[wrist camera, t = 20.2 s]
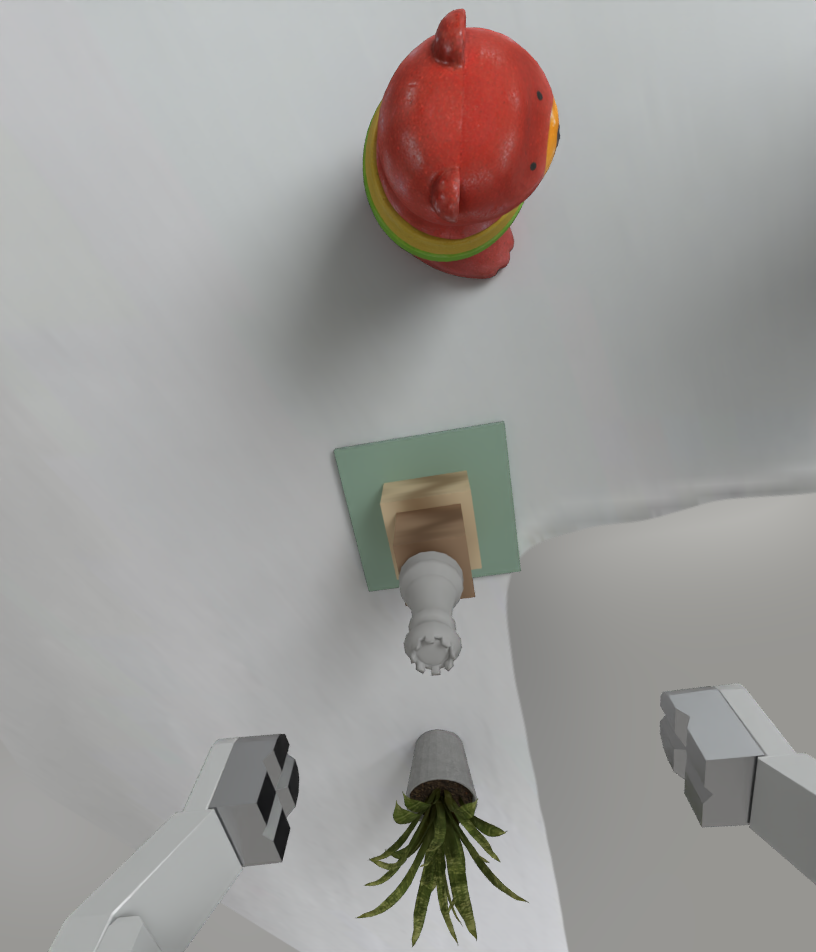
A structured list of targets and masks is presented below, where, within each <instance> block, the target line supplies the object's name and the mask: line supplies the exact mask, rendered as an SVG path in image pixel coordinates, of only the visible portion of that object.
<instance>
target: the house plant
mask: <svg viewBox="0 0 816 952" xmlns="http://www.w3.org/2000/svg"><path fill="white" fill-rule="evenodd" d="M402 793H403V792H402ZM403 796H404V803H405V806H406V807H407V810H408V811H407V810H405V809H402V808H401V807H400V806H399V805H398V804H397V800H396V806H395V810H394V813H393V818H394V821H395V822H396V823H398V824H407V823H411V824H410V825H409V827H408V828H407V830H406V831H405V832H404V833H403V835H402V836H401V837H400V838H399V839H398V840H397V841H396V842H395V843H394V844H393V845H392V846H391V847H390V848H389V849H388V850H387V851H386V850H385V852H384V853H383V854H382V855H380V856H377V857H374V858H372V859H370V858H369V859H370V860H371V861H372V862H374V863H375V864H376V865H378V866H379V867H381V868H384V869H387V870H389V871H388V872H387V873H386V874H385V875H384V876H382V877H381V878H380V879H379V880H377V881H375V882H371V883H368V884H366V885H365V886H375V885H379V884H382V883H384V882H385V881H387V880H388V879H390V878H391V877H392V876H393V875H394V874H395V873H396V872H397V871H398V869H399V868H400V867H401V865H403V864H404V862H405V861H406V860H407V859H408V857H410V856H411V855H412V854H413V853H414V852H415V851H416V850H417V849H418V848H419V847H420V846H421V847H420V849H419V851H418V853H417V856H416V858H415V860H414V862H413V864H412V866H411V868H410V869H409V871H408V873H407V874H406V876H405V877H404V879H403V880H402V882H401V883H400V884H399V886H398V887H397V888H396V890H395V891H394V892H393V893H392V894H391V895H390V896H389V897H388V898H387V899H386V900H385V901H384V902H383V903H382V904H380V905H379V906H378V907H377V908H376V909H374V910H372V911H370V912H367V913H364V914H362V915H361V916H359V917H357V918H365V917H372V916H375V915H378V914H381V913H383V912H385V911H386V910H388V909H389V908H391V907H392V906H393V905H394V904H395V903H396V902H397V901H398V900H399V899H400V898H401V897H402V896H403V895H404V894H405V892H406V891H407V889H408V888H409V886H410V885H411V883H412V881H413V878H414V876H415V874H416V872H417V870H418V868H419V866H420V864H421V862H422V859H423V857H424V855H425V860H424V864H423V865H421V866H420V867H422V866H424V868H423V872H422V876H421V881H420V885H419V890H418V894H417V899H416V904H415V909H414V931H413V935H412V947H413V946H414V945H415V943H416V941H417V939H418V938H419V936H420V933H421V930H422V928H423V924H424V920H425V916H426V911H427V906H428V903H429V899H430V895H431V892H432V891H433V890H434V888H435V887H436V885H437V893H438V900H439V905H440V910H441V913H442V915H443V918H444V920H445V922H446V925H447V927H448V929H449V931H450V933H451V935H452V936H453V938H454V939H455V941H456V942H457V938H456V935H455V932H454V928H453V925H452V922H451V919H450V916H449V912H450V910H451V908H452V911H453V913H454V915H455V917H456V919H457V920H458V921H459V919H458V917H457V915H456V913H455V910H454V908H453V906H454V904H455V906H456V908H457V910H458V912H459V913H460V915H461V916H462V918H463V919H464V921H465V924H466V926H467V928H468V930H469V932H470V933H471V934H472V935H473V936H474V937H475V938H476V941H477V933H476V926H475V921H474V917H473V911H472V906H471V902H470V897H469V892H468V886H467V879H466V873H465V871H466V868H465V856H464V852H463V847H462V844H461V841H462V842H463V844H464V845H465V847H466V848H467V850H468V851H469V853H470V855H471V857H472V858H473V860H474V861H475V863H476V864H477V866H478V867H479V869H480V870H481V871H482V873H483V874H484V875H485V876H486V877H487V879H488V880H489V881H490V882H491V883H492V884H493V885H494V886H495V887H497V888H498V889H499V890H501V891H503V892H504V893H506V894H507V895H509V896H510V897H512V898H514V899H516V900H519V901H525V902H527V901H526V900H524V899H523V898H521V897H519V896H517V895H516V894H515V893H513V892H512V891H511V890H510V889H508V888H507V887H506V886H505V885H504V884H503V883H502V882H501V881H500V880H499V879H498V878H497V877H496V876H495V875H494V874H493V873H492V871H491V870H490V869H489V868H488V867H487V865H486V864H485V863H484V862H486V863H490V862H488V861H487V860H486V859H484V858H482V857H481V856H479V854H478V853H477V851H476V850H475V848H474V847H473V846H472V844H471V843H470V842H469V840H468V839H467V837H466V836H465V834H464V833H463V831H462V830H461V828H460V827H459V823H461V824H462V825H463V826H464V827H465V829H466V830H467V831H468V832H469V833H470V835H471V836H472V837H473V838H474V839H475V840H476V841H477V842H478V843H479V844H480V845H481V846H482V848H483V849H484V850H485V851H486V852H487V853H488V854H489V855H490V856H491V857H492V858H494V859H495V860H497V861H499V862H500V860H499V858H498V857H497V855H496V854H495V853H494V852H493V851H492V848H491V846H490V844H489V843H488V841H487V840H486V839H485V837H484V836H483V835H482V834H481V833H480V832H479V831H481V832H482V833H484V834H485V835H487V836H491V837H496V836H500V835H502V834H505V833H506V832H507V831H506V832H504V831H503V830H501V829H500V828H498V827H496V826H494V825H492V824H489V823H487V822H485V821H483V820H481V819H479V818H477V817H476V816H474V812H475V809H476V807H477V800H478V799H477V797H476V793H475V789H474V785H473V781H472V778H471V774H470V770H469V766H468V762H467V759H466V755H465V751H464V747H463V744H462V741H461V739H460V738H459V737H458V736H457V735H456V734H454V733H452V732H449V731H444V730H431V731H428V732H426V733H424V734H423V735H421V736H420V737H419V739H418V740H417V743H416V746H415V751H414V756H413V762H412V767H411V772H410V777H409V782H408V787H407V792H406V796H405V794H404V793H403ZM418 821H420V822H421V823H420V825H419V826H418V828H417V830H416V832H415V834H414V835H413V837H412V839H411V841H410V843H409V845H408V846H406V847H405V848H403V849H401V850H399V851H397V850H398V849H399V848H400V847H401V846H402V845H403V843H404V842H405V841H406V840H407V838H408V836H409V835H410V833H411V832H412V830H413V829H414V827H415V826H416V824H417V823H418ZM475 827H476V828H477V829H478V830H479V831H478V830H477V829H476V828H475ZM460 839H461V841H460ZM422 842H423V843H422ZM421 844H422V845H421ZM395 851H396V852H395ZM390 855H391V856H393V857H394V858H397V859H399V860H398V861H397V862H396V863H393V864H388V863H384V862H381V861H378V860H381V859H384V858H387V857H388V856H390ZM445 856H446V861H447V868H448V875H449V880H450V886H451V891H452V895H453V900H452V902H451V898H450V894H449V890H448V885H447V880H446V875H445V868H446V863H445ZM447 897H448V901H449V903H450V906H449V908H448V902H447ZM528 903H529V902H528ZM459 922H460V921H459ZM460 923H461V922H460ZM461 925H462V924H461ZM457 944H458V942H457ZM412 947H411V948H412Z"/></svg>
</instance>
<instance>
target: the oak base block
mask: <svg viewBox="0 0 816 952" xmlns="http://www.w3.org/2000/svg"><path fill="white" fill-rule="evenodd" d="M460 503H461V509H462V515H463V521H464V527H465V534H466V540H467V547H468V553H469V560H470V566H471V570H474V569H481V568H482V564H481V557H480V550H479V543H478V536H477V530H476V523H475V516H474V509H473V502H472V495H471V489H470V484H469V479H468V475H467V470H466V471H460V472H453V473H447V474H440V475H434V476H428V477H421V478H415V479H408V480H402V481H395V482H389V483H384V485H383V490H382V496H381V501H380V506H381V511H382V515H383V520H384V524H385V529H386V533H387V538H388V542H389V547H390V551H391V556H392V560H393V565H394V569H395V574H396V578H397V580H399V573H398V568H397V564H396V559H395V554H394V550H393V539H394V530H395V521H396V513H399V512H406V511H413V510H419V509H426V508H433V507H440V506H446V505H453V504H460Z"/></svg>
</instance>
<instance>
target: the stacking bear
mask: <svg viewBox="0 0 816 952" xmlns="http://www.w3.org/2000/svg"><path fill="white" fill-rule="evenodd" d="M559 127H560V126H559V118H558V110H557V105H556V103H555V100H554V97H553V94H552V90H551V87H550V85H549V83H548V81H547V78H546V76H545V74H544V72H543V71H542V69H541V68H540V66H539V65H538V63H537V62H536V61H535V60H534V58H533V57H532V56H531V55H530V54H529V53H528V52H527V51H526V50H525V49H523V48H522V47H521V46H520V45H519V44H517V43H516V42H515V41H513V40H512V39H511V38H509V37H507V36H505V35H503V34H501V33H498V32H494V31H492V30H488V29H484V28H466V14H465V10H464V9H457V10H453V11H451V12H450V13H448V14H447V15H446V16H445V17H444V18H443V19H442V20H441V22H440V24H439V26H438V29H437V31H436V34H435V35H433V36H431V37H430V38H428V39H426V40H425V41H424V42H423V43H421V44H420V45H419V46H418V47H416V48H415V49H414V50H413V51H411V53H410V54H409V55H408V56H407V57H406V58H405V59H404V60H403V61H402V63H401V64H400V65H399V67H398V68H397V70H396V72H395V73H394V75H393V77H392V78H391V80H390V83H389V85H388V87H387V89H386V91H385V94H384V96H383V99H382V101H381V102H380V104H379V105H378V107H377V109H376V111H375V113H374V115H373V118H372V120H371V122H370V125H369V128H368V131H367V135H366V139H365V145H364V152H363V179H364V186H365V191H366V195H367V199H368V202H369V205H370V207H371V209H372V212H373V214H374V216H375V218H376V220H377V222H378V223H379V225H380V226H381V228H382V229H383V230H384V232H385V233H386V234H387V235H388V236H389V237H390V238H391V239H392V240H393V241H394V242H395V243H396V244H397V245H398V246H400V247H401V248H402V249H404V250H406V251H407V252H409V253H411V254H412V255H413V256H415V257H416V258H417V259H419V260H421V261H422V262H424V263H425V264H427V265H429V266H431V267H433V268H435V269H438V270H440V271H443V272H445V273H448V274H452V275H456V276H460V277H466V278H477V279H484V278H490V277H493V276H495V275H496V274H497V271H498V269H500V268H504V267H506V266H507V264H508V263H509V260H510V254H509V252H510V251H511V250H512V249H513V246H514V239H513V235H512V232H511V229H510V226H511V224H512V223H513V221H514V220H515V218H516V217H517V215H518V213H519V211H520V209H521V207H522V205H523V203H524V201H525V200H526V199H527V198H528V197H529V196H530V195H531V194H532V192H533V191H534V190H535V189H536V187H537V186H538V185H539V183H540V182H541V180H542V179H543V177H544V175H545V174H546V172H547V170H548V169H549V167H550V164H551V162H552V159H553V157H554V154H555V151H556V148H557V146H558V142H559V139H560V133H559Z"/></svg>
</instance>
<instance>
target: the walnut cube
mask: <svg viewBox="0 0 816 952" xmlns="http://www.w3.org/2000/svg"><path fill="white" fill-rule="evenodd" d="M393 550H394V554H395V559H396V564H397V568H398V573H399V574H400V571H401V567H402V566H403V565H404V564H405V562H406V561H407V560H408V559H409V558H410V557H412V556H414V555H416V554H418V553H421V552H429V551H435V552H439V553H444V554H447V555H448V556H450V557H451V558H453V559H454V560H456V562H457V563H458V565H459V566H460V568H461V569H462V573H463V580H464V581H463V591H462V594H461V597H460V599H463V598H471V597H475V592H474V586H473V579H472V573H471V566H470V560H469V553H468V547H467V540H466V534H465V527H464V521H463V515H462V509H461V503H460V504H453V505H446V506H440V507H433V508H426V509H419V510H413V511H406V512H399V513H396V521H395V530H394V539H393ZM405 605H406V606H407V604H406V603H405Z"/></svg>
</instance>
